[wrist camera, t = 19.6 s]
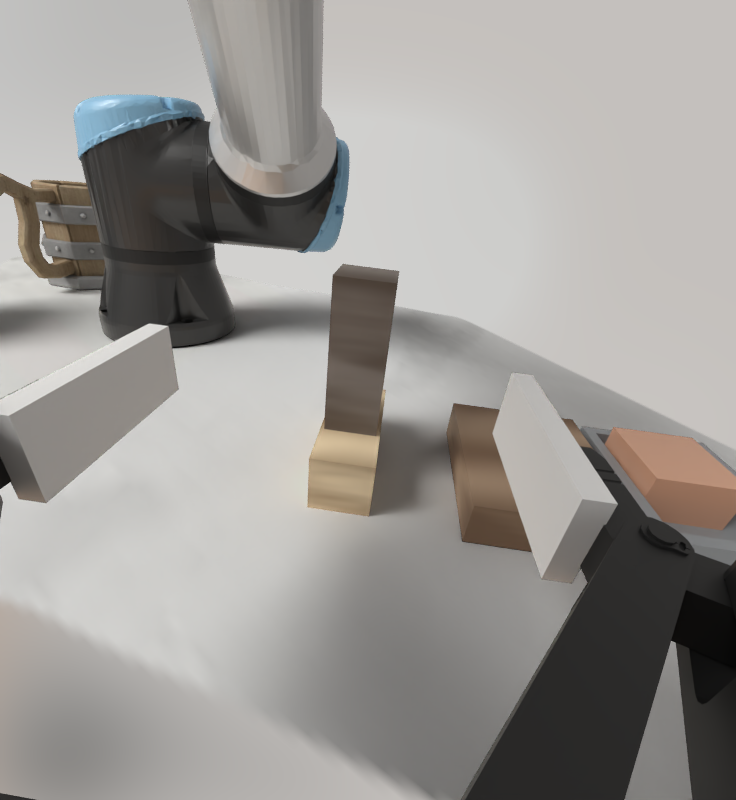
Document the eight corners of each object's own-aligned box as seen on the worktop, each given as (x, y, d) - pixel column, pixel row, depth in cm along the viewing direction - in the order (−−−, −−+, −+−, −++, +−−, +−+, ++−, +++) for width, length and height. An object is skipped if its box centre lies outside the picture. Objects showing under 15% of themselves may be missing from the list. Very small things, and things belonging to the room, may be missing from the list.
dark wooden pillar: (334, 424, 33) (346, 255, 26) (379, 430, 33) (403, 262, 26) (307, 507, 24) (315, 288, 18) (368, 516, 24) (400, 299, 17)
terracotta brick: (595, 462, 31) (613, 427, 29) (669, 472, 31) (692, 437, 29) (632, 517, 26) (657, 478, 24) (722, 530, 26) (753, 492, 24)
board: (446, 432, 34) (453, 403, 32) (559, 448, 33) (572, 419, 32) (462, 541, 23) (474, 505, 22) (627, 566, 23) (650, 531, 21)
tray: (571, 449, 33) (582, 426, 32) (687, 466, 33) (702, 443, 32) (644, 568, 23) (664, 540, 22) (815, 594, 23) (845, 567, 21)
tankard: (94, 267, 69) (71, 173, 62) (157, 277, 68) (141, 181, 61) (-23, 292, 52) (-74, 165, 45) (59, 306, 51) (20, 177, 43)
